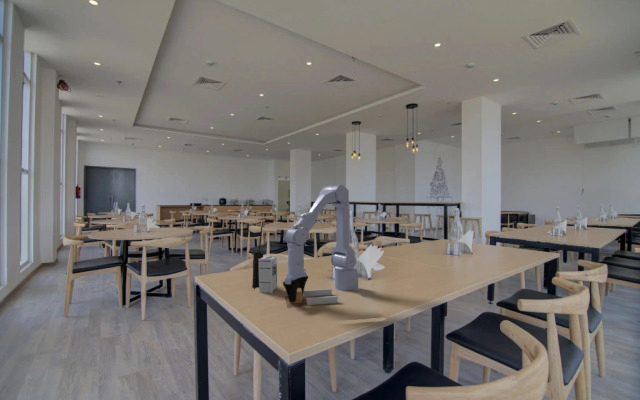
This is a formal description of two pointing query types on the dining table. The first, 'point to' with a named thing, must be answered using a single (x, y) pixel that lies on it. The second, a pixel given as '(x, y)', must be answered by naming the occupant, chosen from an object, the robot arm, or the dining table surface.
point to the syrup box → (268, 274)
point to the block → (298, 296)
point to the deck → (304, 302)
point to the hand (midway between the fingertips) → (296, 298)
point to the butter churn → (256, 265)
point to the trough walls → (320, 299)
